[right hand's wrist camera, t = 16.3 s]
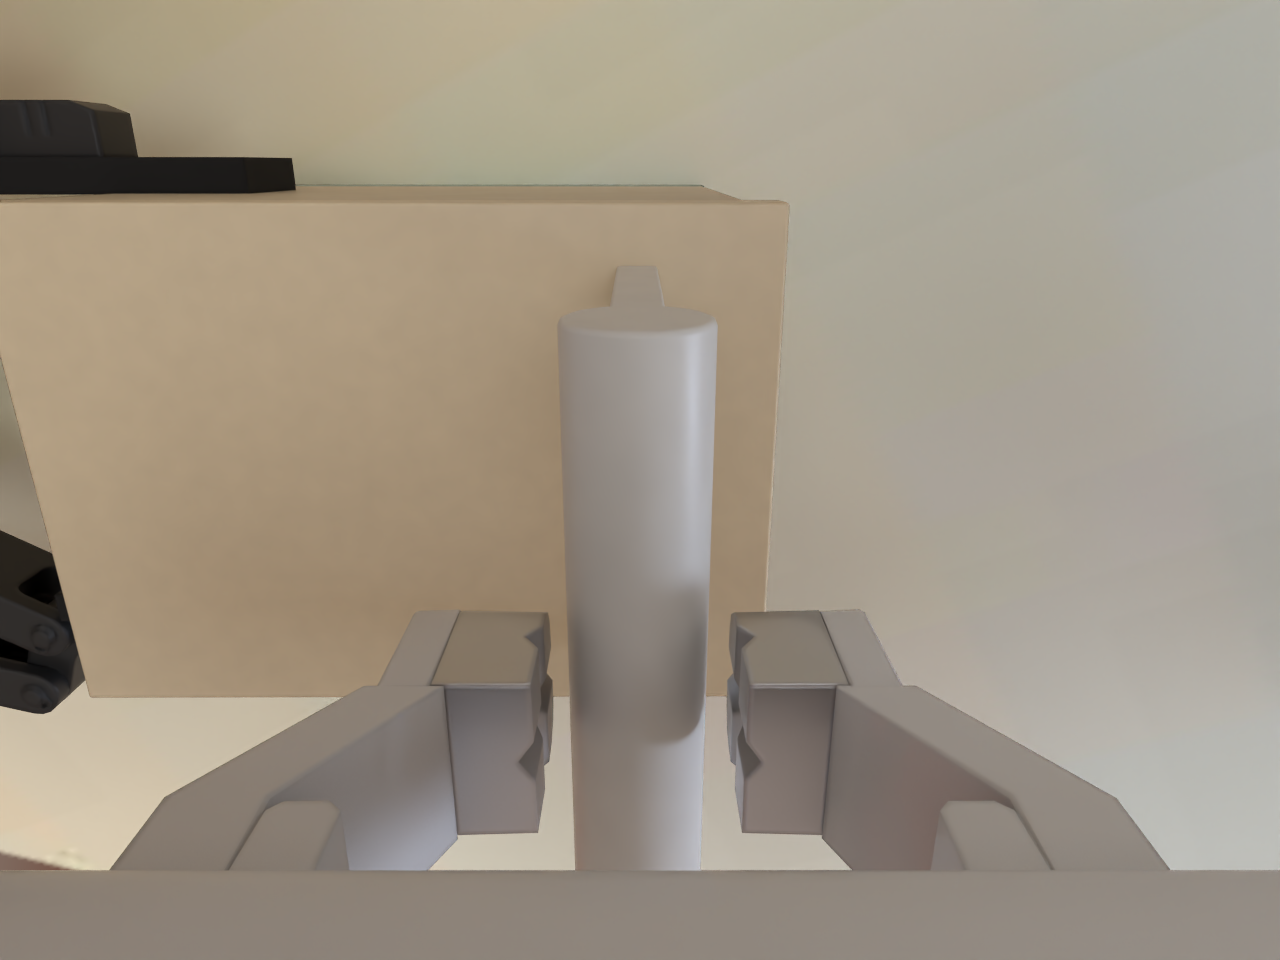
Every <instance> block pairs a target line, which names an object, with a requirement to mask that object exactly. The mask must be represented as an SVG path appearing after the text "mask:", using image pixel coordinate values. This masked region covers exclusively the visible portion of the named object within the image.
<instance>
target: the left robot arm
mask: <svg viewBox="0 0 1280 960" xmlns="http://www.w3.org/2000/svg"><path fill="white" fill-rule="evenodd" d="M290 190H296V187H295V179H294V172H293V164H292V158H250V157H138V154H137V149H136V144H135V139H134V133H133V128H132V123H131V118H130V114H129V113H127V112H124V111H122V110H119V109H117V108H114V107H112V106H109V105H107V104H99V103H90V102H81V101H72V100H0V194H251V193H264V192H277V191H290ZM84 681H85V676H84V672H83V668H82V665H81V661H80V657H79V653H78V649H77V646H76V642H75V638H74V634H73V630H72V627H71V623H70V619H69V615H68V611H67V608H66V604H65V600H64V596H63V592H62V589H61V585H60V581H59V577H58V573H57V570H56V566H55V562H54V558H53V554H52V553H49V552H47V551H45V550H43V549H41V548H38V547H36V546H34V545H32V544H29V543H27V542H25V541H23V540H20V539H18V538H16V537H14V536H12V535H9V534H7V533H5V532H3V531H0V706H3V707H8V708H12V709H17V710H21V711H26V712H31V713H37V714H45V713H48V712H51V711H52V710H53V709H54V708H55V707H56V706H57V705H59V704H60V703H61V702H62V701H63V700H64V699H65V698H67V697H68V696H69V695H70V694H71V693H72V692H73V691H74V690H75V689H76V688H77V687H78V686H79V685H80V684H82V683H83V682H84Z"/></svg>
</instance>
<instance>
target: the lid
mask: <svg viewBox="0 0 1280 960" xmlns="http://www.w3.org/2000/svg"><path fill="white" fill-rule="evenodd" d="M789 208H790V206H789V203H786V202H783V201H779V200H0V357H1V361H2V365H3V369H4V372H5V376H6V380H7V384H8V388H9V391H10V395H11V399H12V403H13V406H14V410H15V414H16V418H17V422H18V425H19V429H20V433H21V437H22V441H23V444H24V448H25V452H26V456H27V460H28V463H29V467H30V471H31V475H32V479H33V482H34V486H35V490H36V494H37V498H38V501H39V505H40V509H41V513H42V517H43V520H44V524H45V528H46V532H47V536H48V539H49V543H50V547H51V551H52V554H53V558H54V562H55V566H56V570H57V573H58V577H59V581H60V585H61V589H62V592H63V596H64V600H65V604H66V608H67V611H68V615H69V619H70V623H71V627H72V630H73V634H74V638H75V642H76V646H77V649H78V653H79V657H80V661H81V665H82V668H83V672H84V676H85V680H86V684H87V687H88V691H89V695H90V697H345V696H347V695H348V694H350V693H352V692H354V691H356V690H357V689H359V688H361V687H363V686H377V685H378V683H379V681H380V679H381V677H382V675H383V673H384V671H385V669H386V667H387V665H388V663H389V661H390V659H391V658H392V656H393V654H394V652H395V650H396V648H397V646H398V644H399V642H400V640H401V638H402V636H403V634H404V632H405V630H406V628H407V626H408V624H409V622H410V620H411V618H412V616H413V615H414V614H415V612H417V611H425V610H461V611H515V612H548V615H549V621H550V635H551V651H550V657H549V663H548V668H547V674H548V675H549V676H550V678H551V679H552V680H553V697H564V696H570V722H571V752H572V782H573V812H574V842H575V870H700V864H701V832H702V801H703V770H704V739H705V707H706V696H727V680H728V679H729V677H730V676H731V675H732V674H733V669H732V663H731V657H730V651H729V631H730V620H731V614H732V613H734V612H766V602H767V584H768V567H769V550H770V533H771V516H772V499H773V482H774V465H775V448H776V430H777V413H778V396H779V379H780V362H781V345H782V328H783V311H784V294H785V276H786V259H787V242H788V225H789Z"/></svg>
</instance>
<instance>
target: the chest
mask: <svg viewBox="0 0 1280 960" xmlns="http://www.w3.org/2000/svg"><path fill="white" fill-rule="evenodd" d="M295 187H296V190H290V191H277V192H264V193H251V194H99V195H82V196H64V197H46V198H29V199H11V200H740V199H737V198H734V197H731V196H728V195H725V194H722V193H719V192H717V191H714V190H711V189H708V188H705V187H704V186H702V185H295Z"/></svg>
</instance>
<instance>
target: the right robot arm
mask: <svg viewBox="0 0 1280 960" xmlns="http://www.w3.org/2000/svg"><path fill="white" fill-rule="evenodd" d="M550 651H551V635H550V621H549V615H548V612H515V611H461V610H425V611H417V612H415V614H414V615H413V616H412V618H411V620H410V622H409V624H408V626H407V628H406V630H405V632H404V634H403V636H402V638H401V640H400V642H399V644H398V646H397V648H396V650H395V652H394V654H393V656H392V658H391V659H390V661H389V663H388V665H387V667H386V669H385V671H384V673H383V675H382V677H381V679H380V681H379V683H378V685H377V686H363V687H361V688H359V689H357V690H356V691H354V692H352V693H350V694H348V695H347V696H345V697H343V698H341V699H339V700H338V701H336V702H334V703H332V704H331V705H329V706H327V707H325V708H323V709H322V710H320V711H318V712H316V713H314V714H313V715H311V716H309V717H307V718H305V719H304V720H302V721H300V722H298V723H297V724H295V725H293V726H291V727H289V728H288V729H286V730H284V731H282V732H280V733H279V734H277V735H275V736H273V737H271V738H270V739H268V740H266V741H264V742H263V743H261V744H259V745H257V746H255V747H254V748H252V749H250V750H248V751H246V752H245V753H243V754H241V755H239V756H237V757H236V758H234V759H232V760H230V761H229V762H227V763H225V764H223V765H221V766H220V767H218V768H216V769H214V770H212V771H211V772H209V773H207V774H205V775H203V776H202V777H200V778H198V779H196V780H195V781H193V782H191V783H189V784H187V785H186V786H184V787H182V788H180V789H178V790H177V791H175V792H173V793H171V794H169V795H168V796H166V797H164V799H163V800H162V801H161V803H160V804H159V805H158V807H157V808H156V809H155V811H154V812H153V813H152V815H151V816H150V817H149V819H148V820H147V821H146V822H145V824H144V825H143V826H142V828H141V829H140V830H139V832H138V833H137V834H136V836H135V837H134V838H133V840H132V841H131V842H130V844H129V845H128V846H127V848H126V849H125V850H124V852H123V853H122V854H121V855H120V857H119V858H118V859H117V861H116V862H115V863H114V865H113V866H112V867H111V869H110V870H0V960H1280V870H1170V869H1169V867H1168V866H1167V865H1166V863H1165V862H1164V861H1163V859H1162V858H1161V857H1160V855H1159V854H1158V853H1157V851H1156V850H1155V849H1154V847H1153V846H1152V845H1151V843H1150V842H1149V841H1148V840H1147V838H1146V837H1145V836H1144V834H1143V833H1142V832H1141V830H1140V829H1139V828H1138V826H1137V825H1136V824H1135V822H1134V821H1133V820H1132V818H1131V817H1130V816H1129V814H1128V813H1127V812H1126V810H1125V809H1124V808H1123V806H1122V805H1121V804H1120V802H1119V801H1118V800H1117V798H1115V797H1113V796H1111V795H1110V794H1108V793H1106V792H1104V791H1102V790H1101V789H1099V788H1097V787H1095V786H1094V785H1092V784H1090V783H1088V782H1086V781H1085V780H1083V779H1081V778H1079V777H1078V776H1076V775H1074V774H1072V773H1070V772H1069V771H1067V770H1065V769H1063V768H1062V767H1060V766H1058V765H1056V764H1054V763H1053V762H1051V761H1049V760H1047V759H1045V758H1044V757H1042V756H1040V755H1038V754H1037V753H1035V752H1033V751H1031V750H1029V749H1028V748H1026V747H1024V746H1022V745H1021V744H1019V743H1017V742H1015V741H1013V740H1012V739H1010V738H1008V737H1006V736H1004V735H1003V734H1001V733H999V732H997V731H996V730H994V729H992V728H990V727H988V726H987V725H985V724H983V723H981V722H980V721H978V720H976V719H974V718H972V717H971V716H969V715H967V714H965V713H963V712H962V711H960V710H958V709H956V708H955V707H953V706H951V705H949V704H947V703H946V702H944V701H942V700H940V699H939V698H937V697H935V696H933V695H931V694H930V693H928V692H926V691H924V690H923V689H921V688H919V687H917V686H903V685H902V683H901V681H900V679H899V678H898V676H897V674H896V672H895V670H894V668H893V666H892V664H891V662H890V660H889V658H888V656H887V654H886V652H885V650H884V649H883V647H882V645H881V643H880V641H879V639H878V637H877V635H876V633H875V631H874V629H873V627H872V625H871V623H870V621H869V620H868V618H867V616H866V614H865V612H863V611H861V610H859V609H857V610H835V611H819V610H813V611H771V612H734V613H732V614H731V620H730V631H729V651H730V657H731V663H732V669H733V674H732V675H731V676H730V677H729V679H728V680H727V734H728V744H729V752H730V759H731V762H732V763H733V764H735V765H736V775H735V792H736V798H737V804H738V810H739V816H740V823H741V829H742V833H770V834H807V835H822V839H823V840H824V841H825V842H826V843H827V844H828V845H829V846H830V847H831V848H832V849H833V850H834V851H835V853H836V854H837V855H838V856H839V857H840V858H841V859H842V860H843V861H844V862H845V863H846V864H847V865H848V866H849V867H850V868H851V869H852V870H429V869H430V868H431V867H432V865H433V864H434V863H435V862H436V861H437V860H438V859H439V858H440V857H441V856H442V855H443V854H444V853H445V852H446V851H447V850H448V849H449V848H450V847H451V846H452V845H453V844H454V843H455V841H456V840H457V839H458V837H457V835H472V834H508V833H538V829H539V822H540V816H541V810H542V804H543V798H544V791H545V778H544V765H545V764H547V763H548V762H549V758H550V751H551V743H552V728H553V680H552V679H551V678H550V676H549V675H548V674H547V668H548V663H549V657H550Z"/></svg>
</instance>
